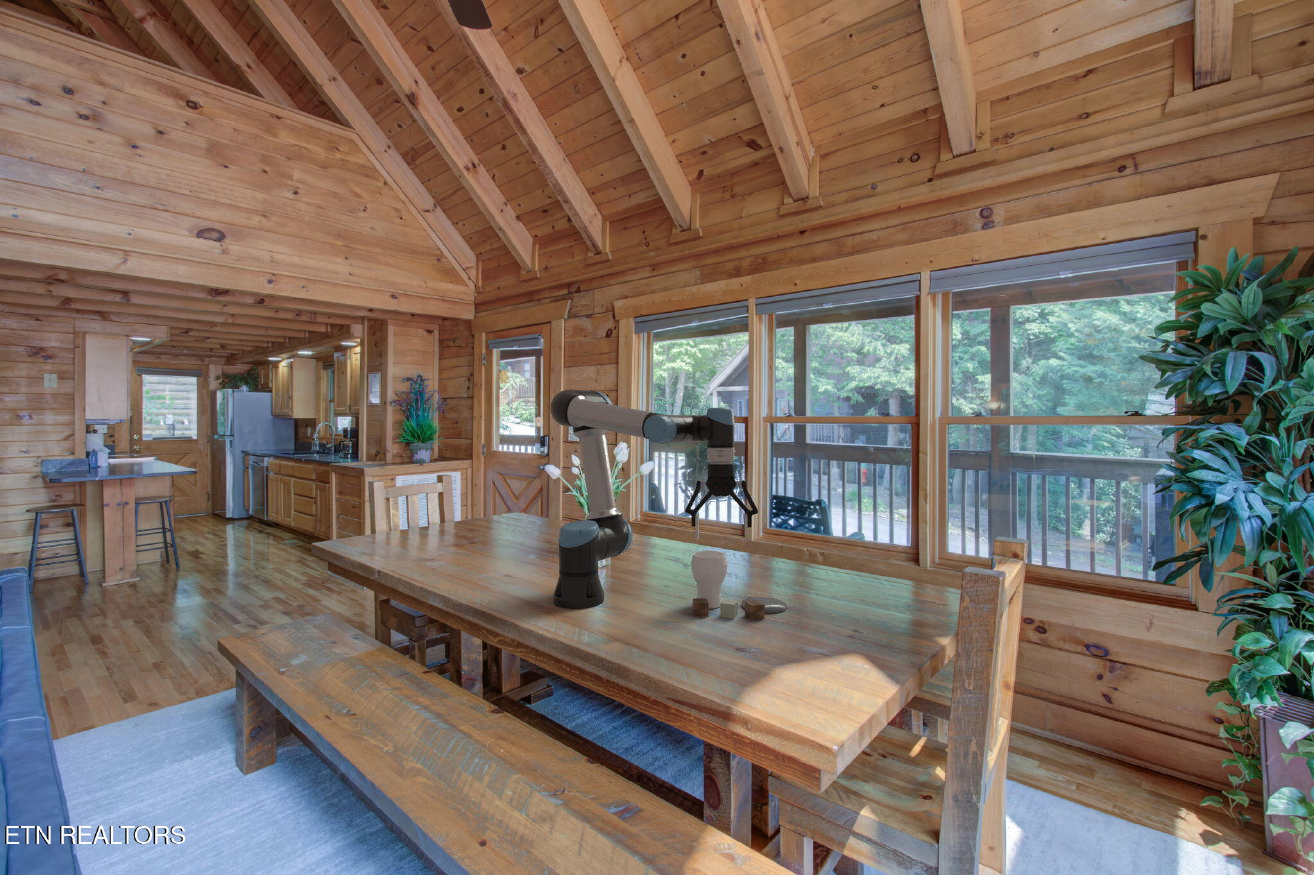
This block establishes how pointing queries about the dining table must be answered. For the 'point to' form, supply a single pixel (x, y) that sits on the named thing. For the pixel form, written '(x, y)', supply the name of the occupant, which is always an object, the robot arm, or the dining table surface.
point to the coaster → (769, 604)
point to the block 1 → (700, 607)
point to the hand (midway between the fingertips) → (721, 538)
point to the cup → (709, 575)
